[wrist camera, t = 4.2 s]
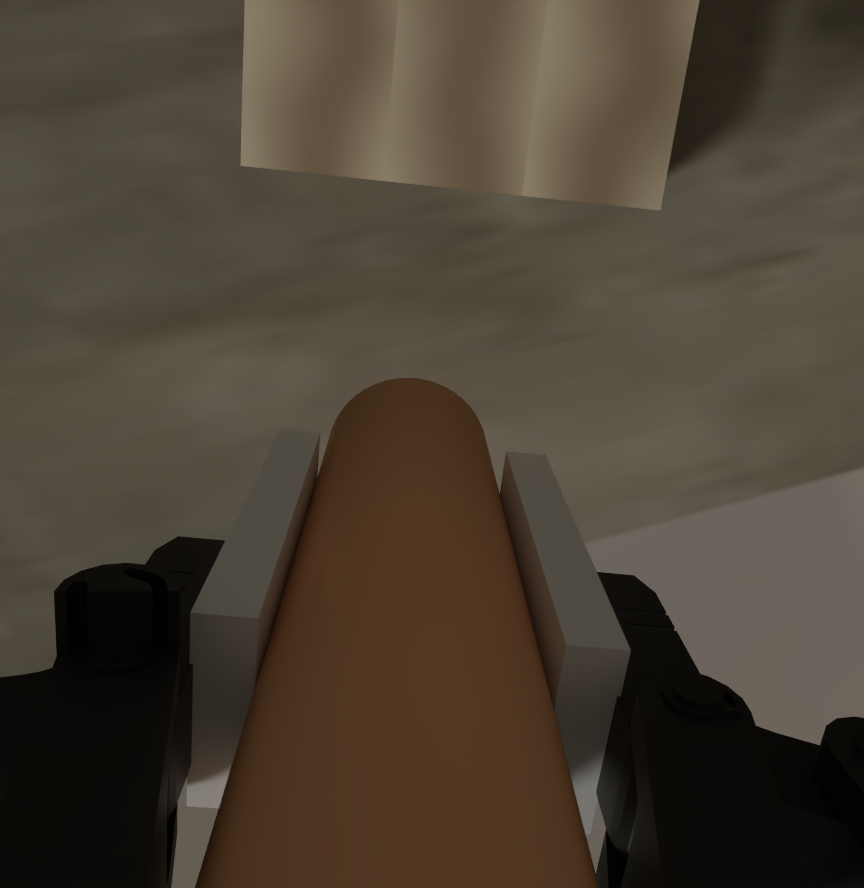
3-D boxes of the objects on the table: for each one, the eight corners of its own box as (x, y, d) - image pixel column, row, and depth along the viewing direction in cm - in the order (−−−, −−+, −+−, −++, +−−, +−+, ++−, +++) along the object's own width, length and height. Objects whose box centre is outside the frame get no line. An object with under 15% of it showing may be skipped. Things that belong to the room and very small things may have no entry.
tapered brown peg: (322, 520, 19) (122, 1324, 6) (333, 369, 18) (114, 960, 5) (476, 533, 19) (609, 1342, 6) (496, 386, 18) (716, 995, 5)
